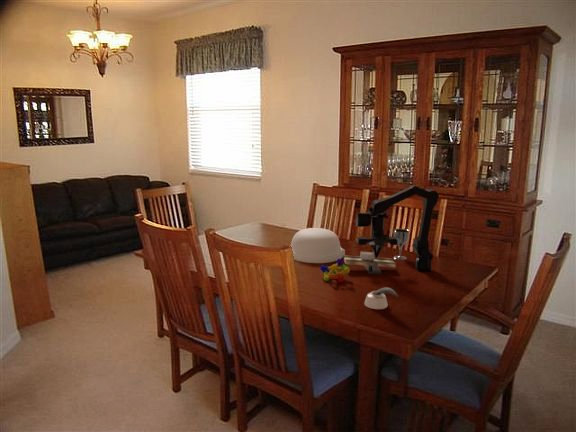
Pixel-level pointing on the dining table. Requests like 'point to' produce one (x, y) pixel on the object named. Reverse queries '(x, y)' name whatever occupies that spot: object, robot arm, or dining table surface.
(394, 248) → the dining table surface
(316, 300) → the dining table surface
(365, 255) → the steel block
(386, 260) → the beam
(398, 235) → the wine glass
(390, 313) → the dining table surface
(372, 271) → the pivot stand
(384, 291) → the inkwell
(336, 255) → the dome cover
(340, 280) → the decorative model
